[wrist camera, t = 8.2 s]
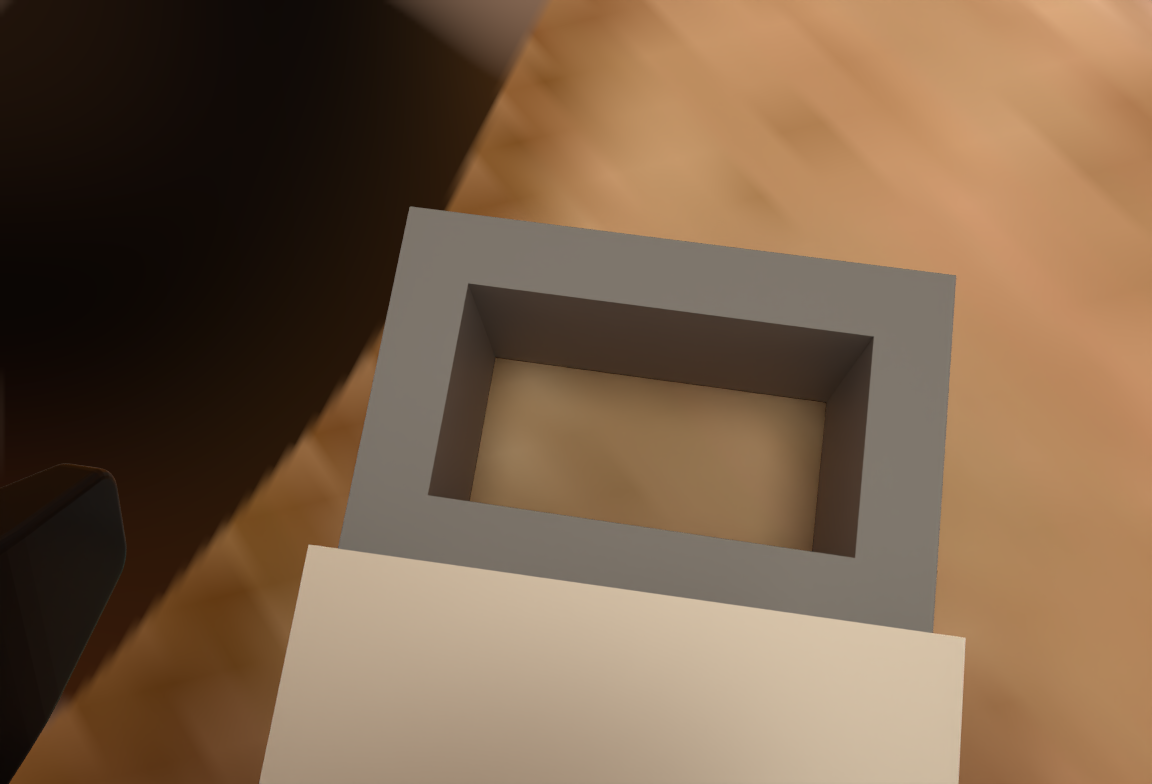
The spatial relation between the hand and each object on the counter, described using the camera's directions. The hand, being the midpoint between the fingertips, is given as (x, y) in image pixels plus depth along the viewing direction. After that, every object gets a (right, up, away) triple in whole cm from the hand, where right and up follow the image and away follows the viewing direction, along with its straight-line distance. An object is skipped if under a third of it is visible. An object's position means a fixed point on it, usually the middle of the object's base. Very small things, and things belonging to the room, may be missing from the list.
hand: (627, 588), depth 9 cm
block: (0, -4, +10) cm, 11 cm away
